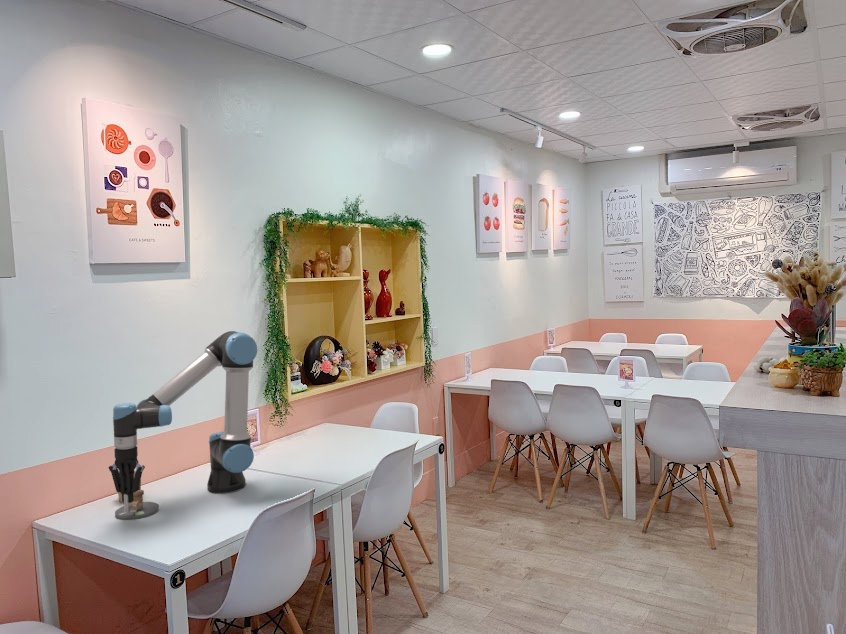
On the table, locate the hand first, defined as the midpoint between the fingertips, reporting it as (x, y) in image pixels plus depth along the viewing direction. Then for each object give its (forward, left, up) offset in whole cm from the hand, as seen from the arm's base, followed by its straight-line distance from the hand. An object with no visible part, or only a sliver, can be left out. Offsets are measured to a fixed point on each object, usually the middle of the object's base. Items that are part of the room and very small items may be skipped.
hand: (128, 511), depth 235 cm
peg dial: (-1, -4, -2) cm, 4 cm away
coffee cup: (+11, -21, -3) cm, 24 cm away
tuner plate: (0, -7, -3) cm, 8 cm away
